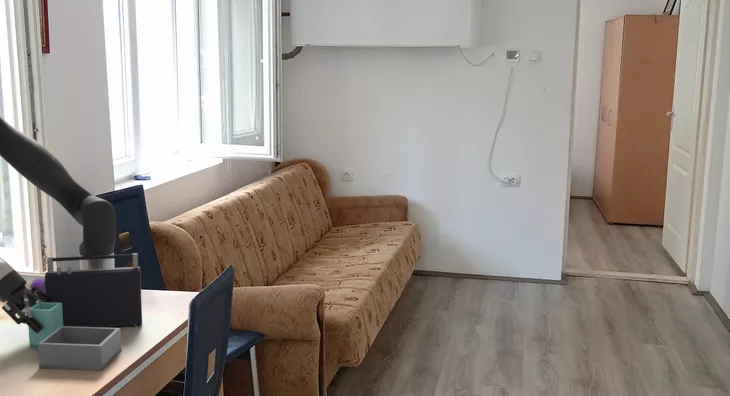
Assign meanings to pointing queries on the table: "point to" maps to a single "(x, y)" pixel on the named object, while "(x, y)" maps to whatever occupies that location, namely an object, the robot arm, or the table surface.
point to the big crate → (79, 348)
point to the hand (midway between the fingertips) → (48, 324)
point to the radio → (96, 293)
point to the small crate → (45, 320)
